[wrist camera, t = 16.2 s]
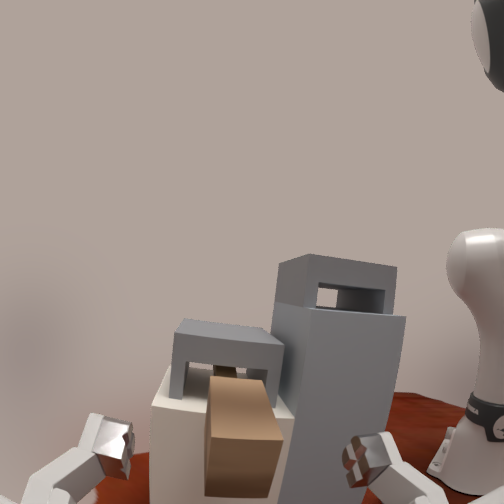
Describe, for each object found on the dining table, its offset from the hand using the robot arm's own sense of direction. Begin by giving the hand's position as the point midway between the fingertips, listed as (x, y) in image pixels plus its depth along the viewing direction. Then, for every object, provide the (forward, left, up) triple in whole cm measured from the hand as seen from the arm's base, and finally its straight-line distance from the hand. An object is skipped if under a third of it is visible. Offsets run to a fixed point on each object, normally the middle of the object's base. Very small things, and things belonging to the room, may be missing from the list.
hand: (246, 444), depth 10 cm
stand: (-15, -8, -21) cm, 27 cm away
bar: (-8, -7, -3) cm, 11 cm away
